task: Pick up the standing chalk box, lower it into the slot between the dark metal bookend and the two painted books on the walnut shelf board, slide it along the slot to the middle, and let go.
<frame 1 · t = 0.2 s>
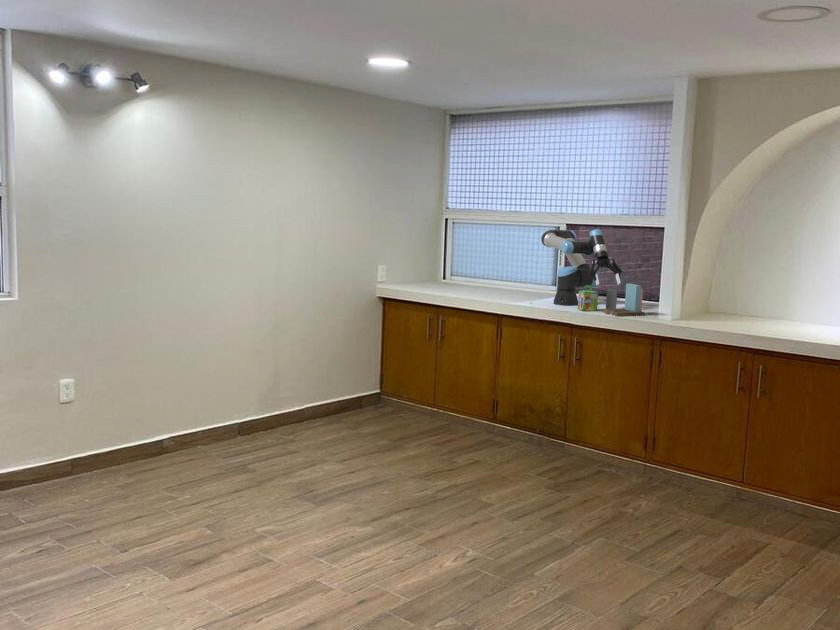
hand: (608, 284, 479), 15 cm above the worktop, tool tilted 35°, fingers open, 13 cm apart
books: (634, 297, 467), on the shelf, point 10 cm above the worktop
bookend: (611, 300, 463), on the shelf, point 8 cm above the worktop
shelf: (623, 314, 466), on the worktop
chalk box: (587, 310, 478), on the worktop
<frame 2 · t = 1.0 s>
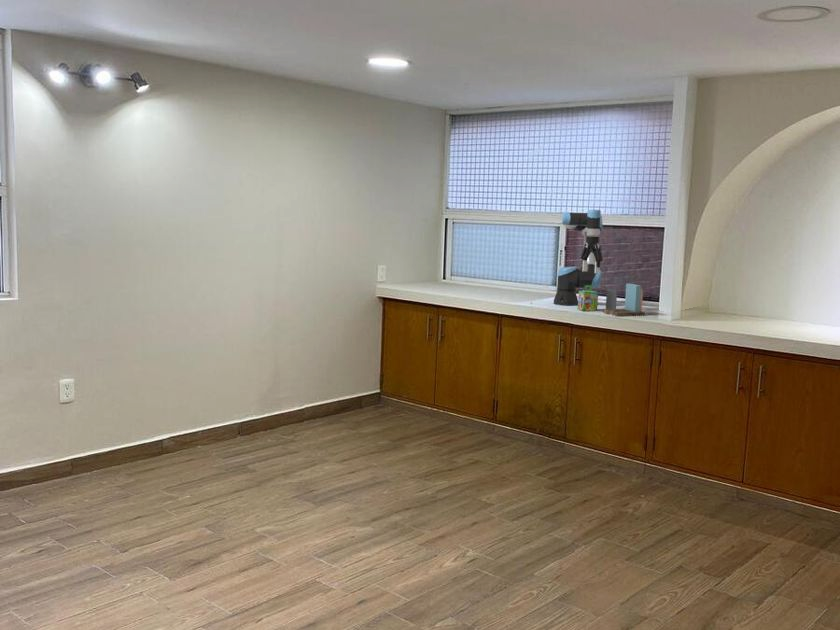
hand: (590, 272, 475), 23 cm above the worktop, tool pointing down, fingers open, 13 cm apart
nothing on the worktop moved.
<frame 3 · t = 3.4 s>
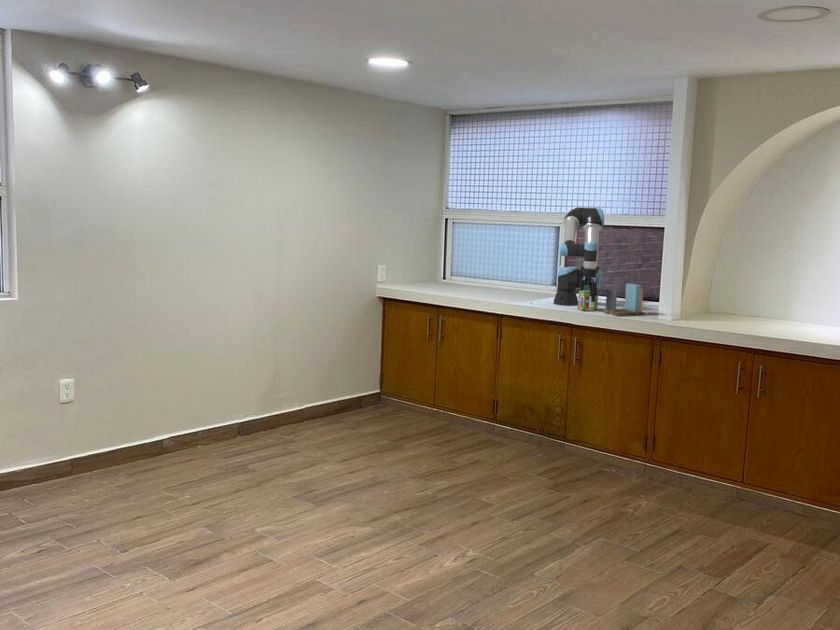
hand: (587, 305, 478), 3 cm above the worktop, tool pointing down, fingers closed on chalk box, 9 cm apart
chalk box: (587, 310, 478), on the worktop, touching gripper
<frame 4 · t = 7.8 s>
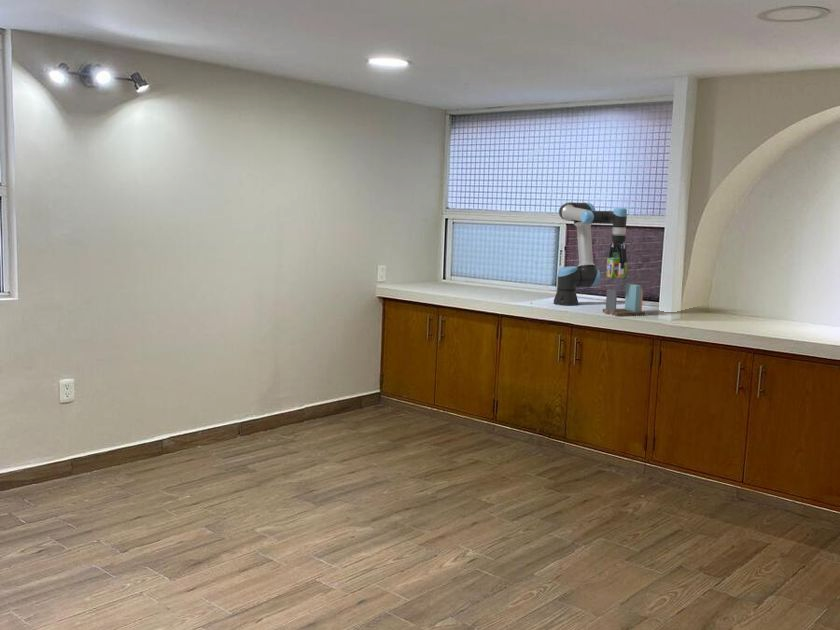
hand: (616, 273, 469), 23 cm above the worktop, tool pointing down, fingers closed on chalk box, 9 cm apart
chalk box: (616, 278, 469), point 20 cm above the worktop, touching gripper
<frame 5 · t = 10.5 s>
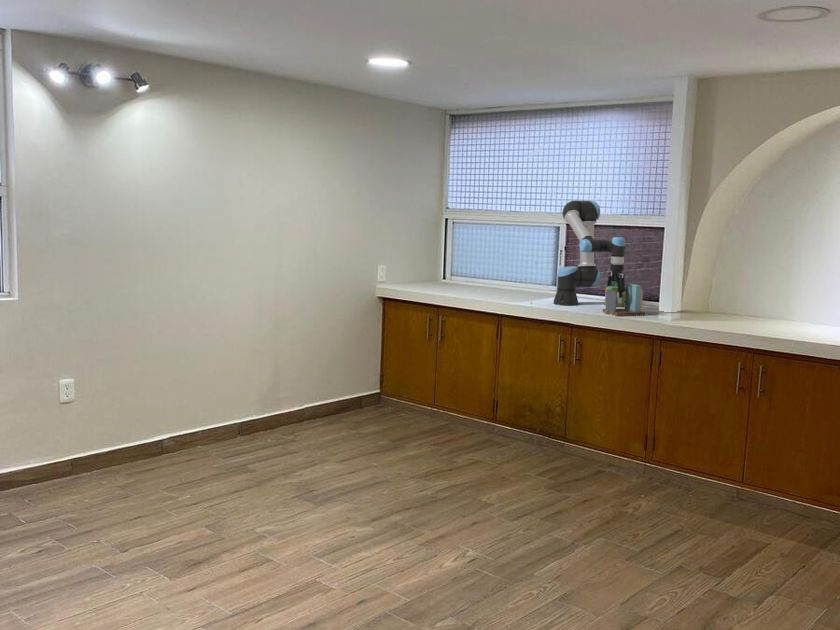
hand: (614, 302, 471), 6 cm above the worktop, tool pointing down, fingers closed on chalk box, 9 cm apart
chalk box: (614, 306, 471), point 3 cm above the worktop, touching gripper
when the fingers open (6 cm above the worktop, at t = 12.4 s): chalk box drops 1 cm, resting on shelf.
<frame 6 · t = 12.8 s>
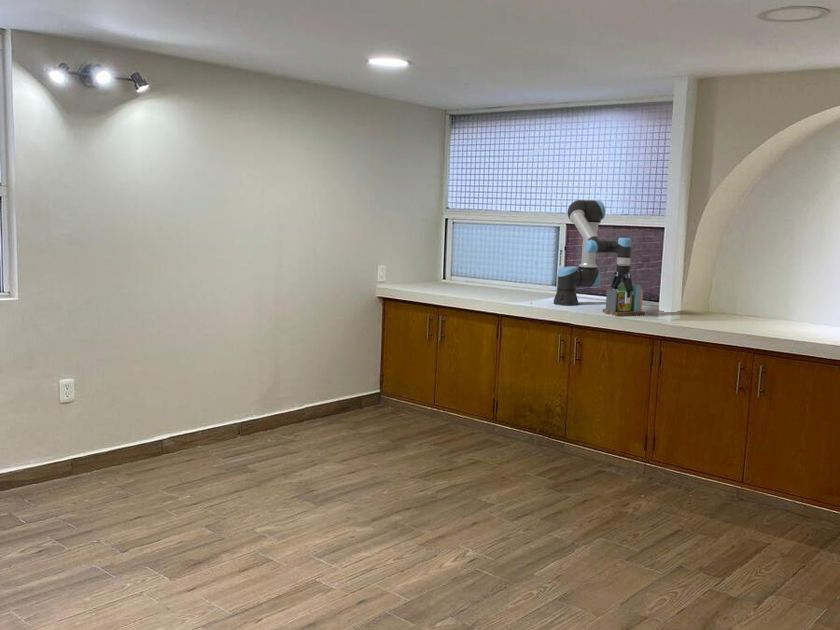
hand: (621, 301, 465), 7 cm above the worktop, tool pointing down, fingers open, 13 cm apart
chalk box: (620, 311, 465), point 2 cm above the worktop, touching shelf
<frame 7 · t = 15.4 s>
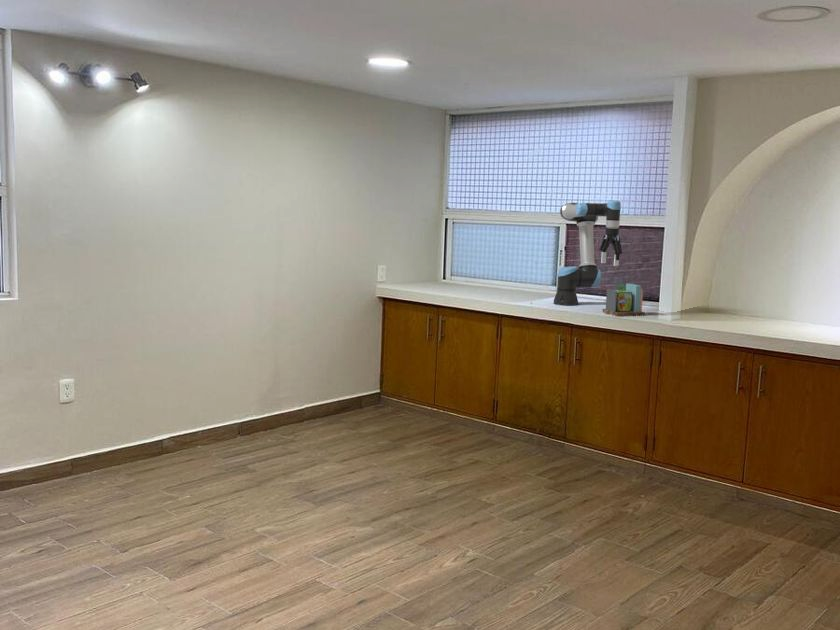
hand: (609, 264, 467), 28 cm above the worktop, tool pointing down, fingers open, 13 cm apart
nothing on the worktop moved.
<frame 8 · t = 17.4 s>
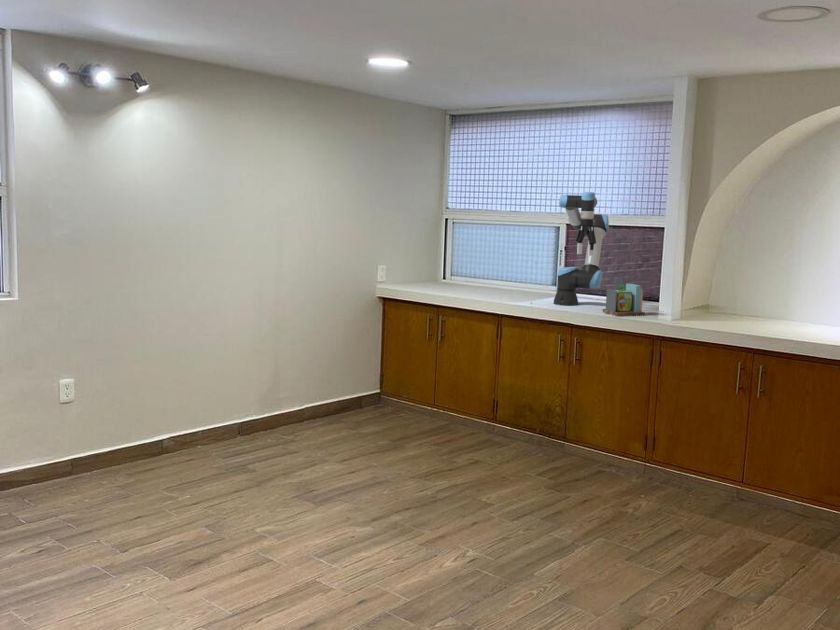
hand: (585, 254, 476), 33 cm above the worktop, tool pointing down, fingers open, 13 cm apart
nothing on the worktop moved.
at the end: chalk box 0.5 cm from the target spot on the shelf, point 1.8 cm above the shelf's base; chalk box tilted 0°; the gripper is holding nothing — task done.
